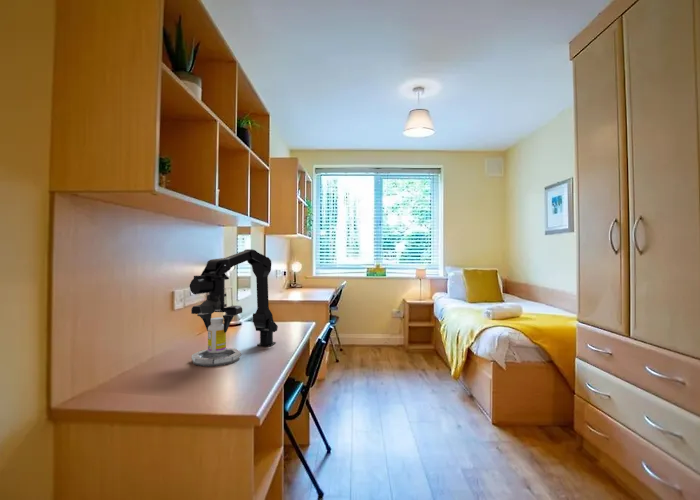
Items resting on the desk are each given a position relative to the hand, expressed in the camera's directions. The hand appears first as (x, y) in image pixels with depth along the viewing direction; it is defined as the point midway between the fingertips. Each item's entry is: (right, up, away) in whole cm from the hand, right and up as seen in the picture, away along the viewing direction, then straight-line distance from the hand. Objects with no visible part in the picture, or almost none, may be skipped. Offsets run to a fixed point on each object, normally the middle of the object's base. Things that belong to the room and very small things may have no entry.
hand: (217, 332), depth 147 cm
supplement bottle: (0, -8, 0) cm, 8 cm away
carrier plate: (0, -11, 0) cm, 11 cm away
